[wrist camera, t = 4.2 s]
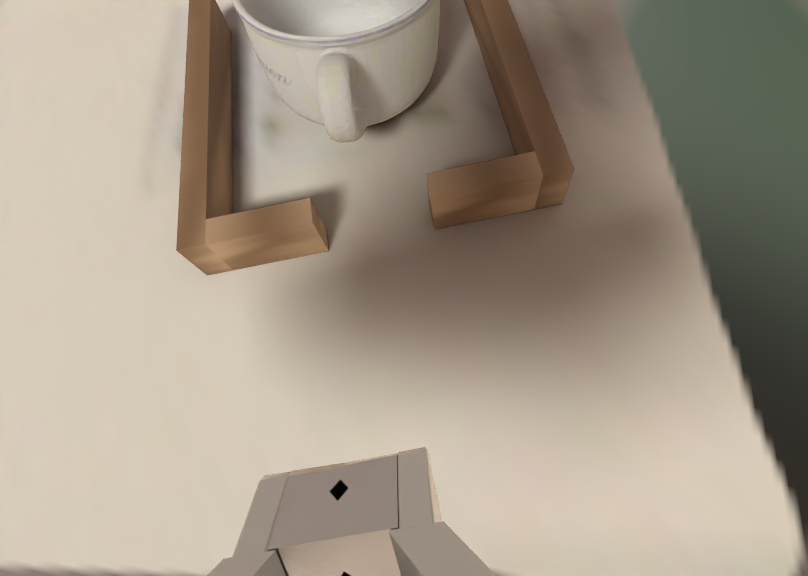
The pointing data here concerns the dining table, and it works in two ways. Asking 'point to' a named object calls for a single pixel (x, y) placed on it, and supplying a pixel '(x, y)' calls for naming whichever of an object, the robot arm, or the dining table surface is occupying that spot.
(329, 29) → the teacup
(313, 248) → the wooden l-brackets
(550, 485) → the dining table surface
